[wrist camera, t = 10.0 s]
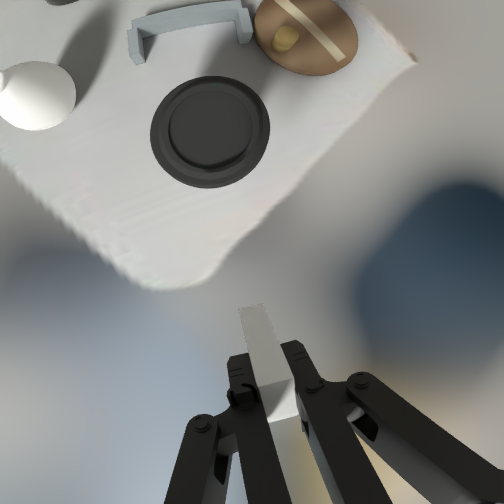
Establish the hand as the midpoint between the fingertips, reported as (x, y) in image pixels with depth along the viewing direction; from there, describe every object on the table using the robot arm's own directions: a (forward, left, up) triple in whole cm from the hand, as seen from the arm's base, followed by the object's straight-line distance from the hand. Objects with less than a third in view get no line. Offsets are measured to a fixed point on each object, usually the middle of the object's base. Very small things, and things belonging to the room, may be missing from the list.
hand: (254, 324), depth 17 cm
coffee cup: (-12, 0, -20) cm, 23 cm away
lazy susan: (-26, +15, -20) cm, 36 cm away
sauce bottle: (-23, -18, -20) cm, 35 cm away
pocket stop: (-28, 0, -20) cm, 34 cm away
